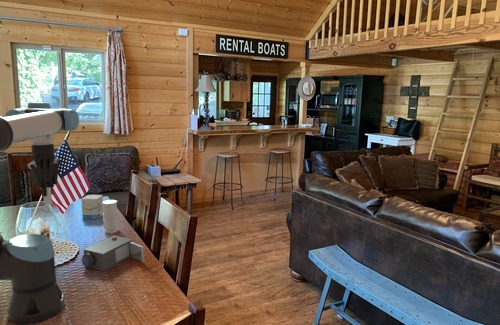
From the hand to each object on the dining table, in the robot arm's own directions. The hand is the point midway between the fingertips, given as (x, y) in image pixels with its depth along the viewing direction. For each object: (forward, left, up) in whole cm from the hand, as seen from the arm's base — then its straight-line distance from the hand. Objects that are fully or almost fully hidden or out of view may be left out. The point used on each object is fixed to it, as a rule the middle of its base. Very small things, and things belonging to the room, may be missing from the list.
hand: (48, 203), depth 142 cm
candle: (+36, +5, -25) cm, 44 cm away
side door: (+16, -28, -24) cm, 40 cm away
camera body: (+10, -19, -24) cm, 33 cm away
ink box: (+48, +30, -25) cm, 62 cm away
